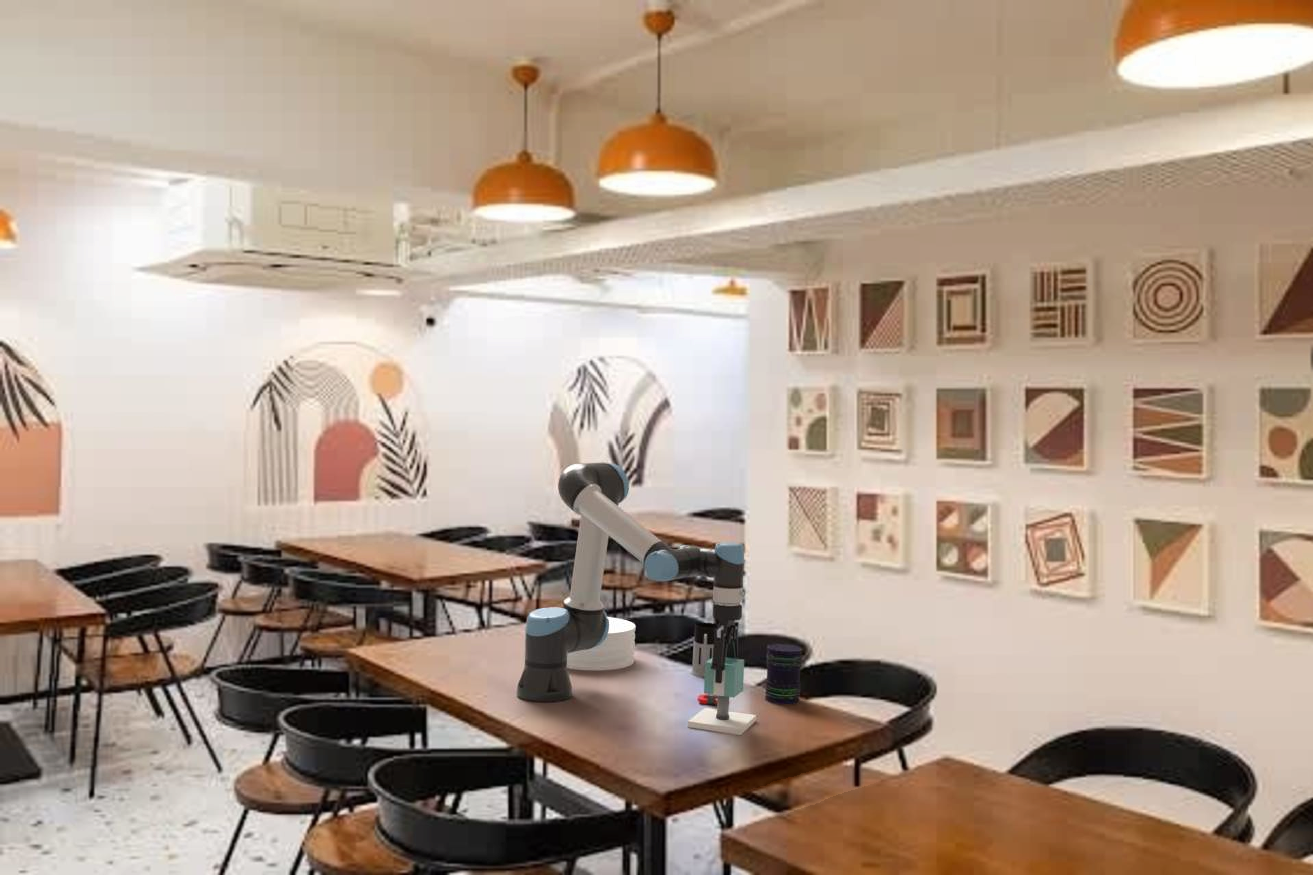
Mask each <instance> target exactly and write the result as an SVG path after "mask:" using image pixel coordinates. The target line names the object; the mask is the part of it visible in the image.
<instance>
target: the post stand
mask: <svg viewBox="0 0 1313 875" xmlns="http://www.w3.org/2000/svg"><path fill="white" fill-rule="evenodd" d="M716 700H717V705H716V709H715V708H711V707H708V708H707V707H704V708H703V709H702V710H700V711H699V712H698V713H697V714H695V715H694V716H693V717H691V718H690V719H689V720H688V721H687V728H690V729H691V728H692V729H697V730H698V729H699V730H703V731H705V730H706V731H711V732H717V733H723V734H731V735H738V736H741V735H743V734H744V733H745V732H746V731H747V730H748V729H749V728H750V727H751V726H752V725H753V724H754V723H755V722H756V721H757V715H756V714H751V713H750V714H749V713H742V712H736V711H730V710H729V709H730V708H729V707H730V697H726V696H718V699H717V698H716Z"/></svg>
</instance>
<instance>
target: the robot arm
mask: <svg viewBox="0 0 1313 875" xmlns="http://www.w3.org/2000/svg"><path fill="white" fill-rule="evenodd" d="M557 483H558V484H557V489H558V494H559V496H560V499H561V500H562V501H563V503H564V504H565V505H566V507H568V508H569V509H570V510H571V511H573V512H574V513H575V514H576V515H578V516H580V520H579V527H578V534H577V540H576V551H575V558H574V563H573V571H572V579H571V584H570V594H569V596H567V597H566V598H565V599H564V600H563V606H562V607H558V606H550V607H543V608H537V609H534V610H533V611H531V612H530V613H529V614H528V615H527V617H526V624H525V639H524V640H525V641H524V642H525V644H524V645H525V646H524V667H523V670H522V673H521V676H520V679H519V681H518V684H517V686H516V687H517V688H516V689H517V690H516V695H517V697H519V698H520V699H523V700H526V701H532V702H538V703H539V702H541V703H542V702H544V703H545V702H546V703H547V702H549V703H550V702H551V703H552V702H560V701H561V702H562V701H565V700H568V699H569V698H570V699H571V698H572V696H573V686H572V682H571V678H570V674H569V672H568V668H567V653H571V652H576V651H581V650H588V649H591V648H593V647H596V646H598V645H600V644H601V643H602V642H603V641H604V640H605V639H606V637H607V635H608V631H609V619H608V618H607V617H608V614H607V612H606V611H605V610H604V609H605V605H604V602H602V601H601V599H600V598H601V591H602V585H603V578H604V570H605V564H606V558H607V552H608V551H607V550H608V549H607V548H608V545H609V544H608V543H609V537H610V538H611V539H613V540H614V541H615V542H616V543H618V544H619V545H620V546H621V547H623V549H625V550H626V551H627V552H629V553H630V554H631V555H633V556H634V557H635V558H636V559H637V560H639V561H640V562H641V563H642V564H643V565H644V571H645V572H646V574H647V577H648V578H649V579H650V580H652V581H655V582H669V581H673V580H680V579H685V578H686V579H687V578H691V577H704V578H705V577H706V578H711V579H713V593H712V600H713V602H714V603H713V604H712V618H714V619H715V620H718V621H719V622H718V625H719V626H718V627H717V629H715V630H714V647H713V658H712V666H711V669H714V692H713V695H718V696H724V694H725V670H724V667H725V660H726V658H734V659H739V625H740V624H739V621H740V620H741V619H742V618H743V605H742V602H743V596H744V595H745V591H743V588H744V570H745V567H744V566H745V563H746V562H745V561H746V560H745V547H744V545H743V544H741V543H739V542H730V541H722V542H721V541H720V542H717V543H716V544H715V547H714V548H710V547H704V546H703V547H702V546H695V545H692V544H691V545H680V546H679V547H678V548H675V549H673V548H671V547H670V546H669V545H667V544H666V543H665V542H663V541H662V540H661V539H660V538H659V537H658V536H656V535H655V534H654V533H652V532H651V531H650V530H649V529H647V527H645V526H644V525H643V524H641V523H640V522H639V521H637V520H636V519H635V518H633V516H631V515H630V514H629V513H627V512H626V511H625V510H624V509H622V508H621V507H620V506H619V504H621V503H622V502H623V501H624V500H626V498H627V496H628V494H629V490H630V482H629V478H628V476H627V474H626V473H625V471H624V469H623V468H622V467H621V466H619V465H617V464H615V463H611V462H603V461H602V462H586V463H585V462H584V463H582V462H577V463H573V464H570V465H569V466H568V467H566V468H564V470H563V471H562V472H561V474H560V476H559V479H558V482H557Z"/></svg>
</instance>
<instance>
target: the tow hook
mask: <svg viewBox="0 0 1313 875" xmlns="http://www.w3.org/2000/svg"><path fill="white" fill-rule="evenodd" d="M717 699H718V695H712V694H705V693H704V694H699V695H698V696H697V700H698V701H699V702H698V703H699V704H700V705H701V704H702V705H708V706H717Z"/></svg>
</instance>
